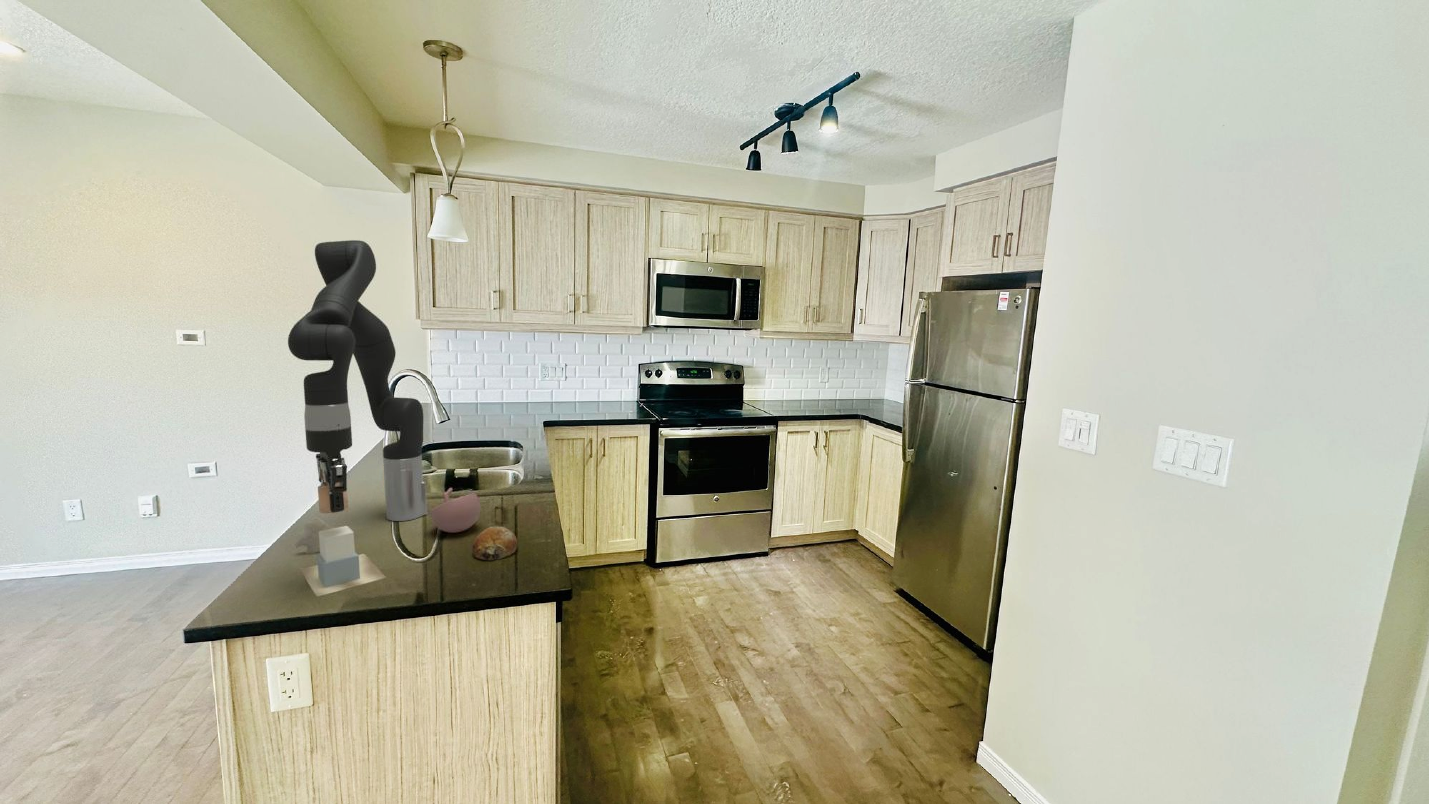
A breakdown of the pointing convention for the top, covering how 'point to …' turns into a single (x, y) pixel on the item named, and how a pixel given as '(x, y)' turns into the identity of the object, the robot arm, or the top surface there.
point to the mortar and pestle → (456, 513)
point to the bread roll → (494, 544)
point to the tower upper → (336, 543)
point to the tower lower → (338, 570)
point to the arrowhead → (311, 535)
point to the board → (366, 575)
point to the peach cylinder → (328, 499)
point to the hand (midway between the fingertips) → (334, 507)
